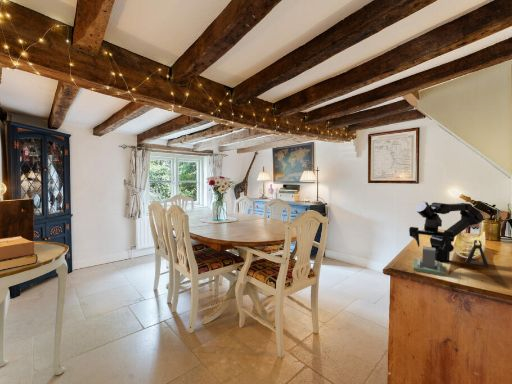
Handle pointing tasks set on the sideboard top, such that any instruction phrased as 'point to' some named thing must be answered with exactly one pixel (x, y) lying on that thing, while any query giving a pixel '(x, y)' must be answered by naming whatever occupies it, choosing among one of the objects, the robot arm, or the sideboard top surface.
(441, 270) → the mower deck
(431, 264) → the chute block
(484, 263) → the dark a-frame stand
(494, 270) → the sideboard top surface
